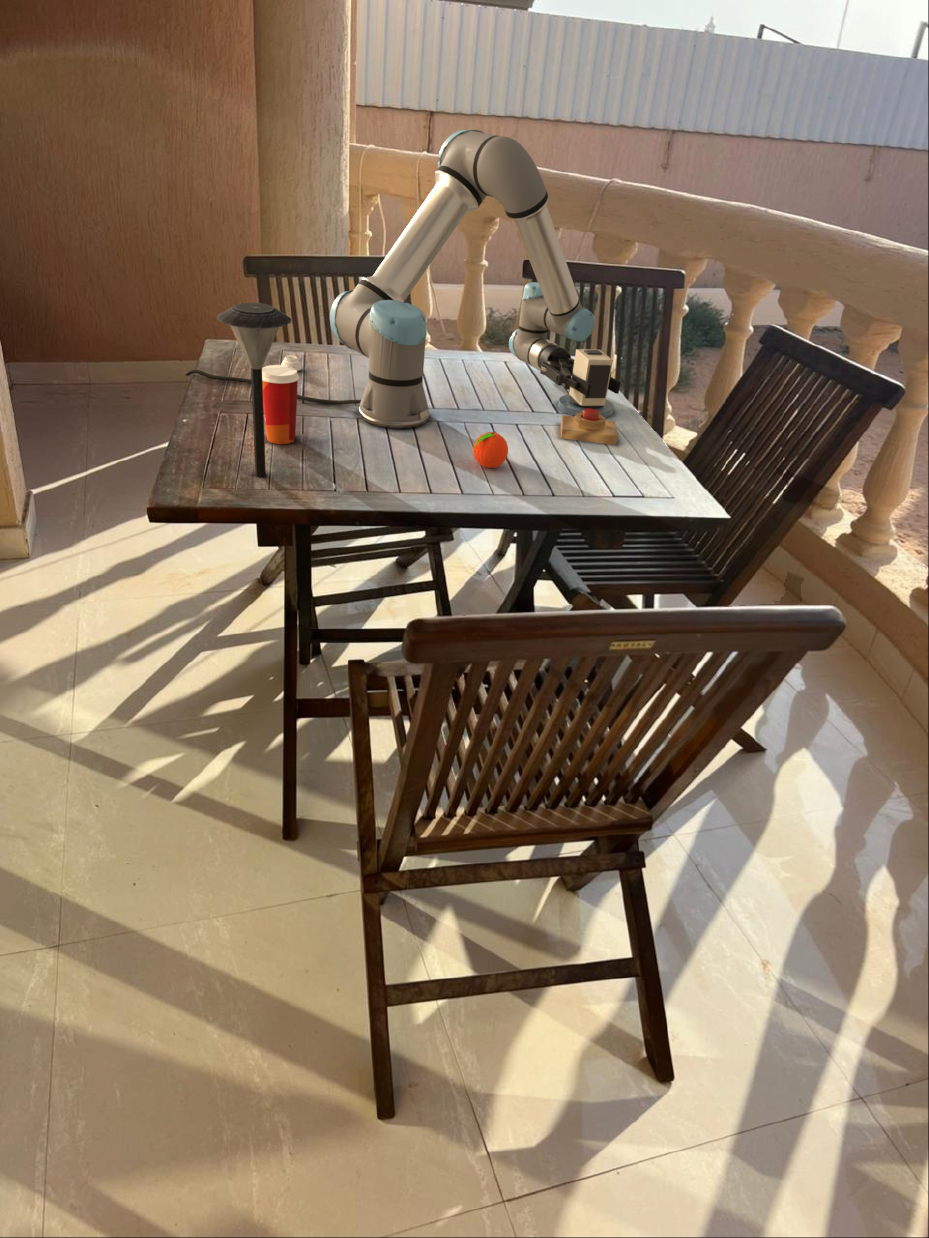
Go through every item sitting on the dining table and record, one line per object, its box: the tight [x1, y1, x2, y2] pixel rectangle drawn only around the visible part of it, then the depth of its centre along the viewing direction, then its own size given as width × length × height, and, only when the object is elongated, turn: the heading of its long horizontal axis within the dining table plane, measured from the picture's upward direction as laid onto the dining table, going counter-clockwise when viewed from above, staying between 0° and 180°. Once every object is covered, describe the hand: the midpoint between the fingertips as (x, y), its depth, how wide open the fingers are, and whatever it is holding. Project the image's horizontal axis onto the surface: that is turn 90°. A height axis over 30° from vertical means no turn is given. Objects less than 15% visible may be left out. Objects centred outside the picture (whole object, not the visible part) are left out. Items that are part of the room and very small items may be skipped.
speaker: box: [568, 348, 614, 408], centre depth 204 cm, size 9×8×12 cm
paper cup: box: [262, 364, 300, 445], centre depth 173 cm, size 8×8×14 cm
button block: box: [560, 412, 619, 446], centre depth 193 cm, size 12×9×4 cm
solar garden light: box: [216, 302, 293, 478], centre depth 153 cm, size 12×12×30 cm
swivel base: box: [557, 393, 614, 418], centre depth 208 cm, size 13×13×2 cm
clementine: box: [472, 431, 509, 469], centre depth 172 cm, size 8×7×7 cm
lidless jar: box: [280, 355, 303, 372], centre depth 213 cm, size 5×3×5 cm
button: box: [582, 408, 600, 421], centre depth 192 cm, size 4×4×2 cm
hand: (603, 389), depth 201 cm, fingers open, 8 cm apart
